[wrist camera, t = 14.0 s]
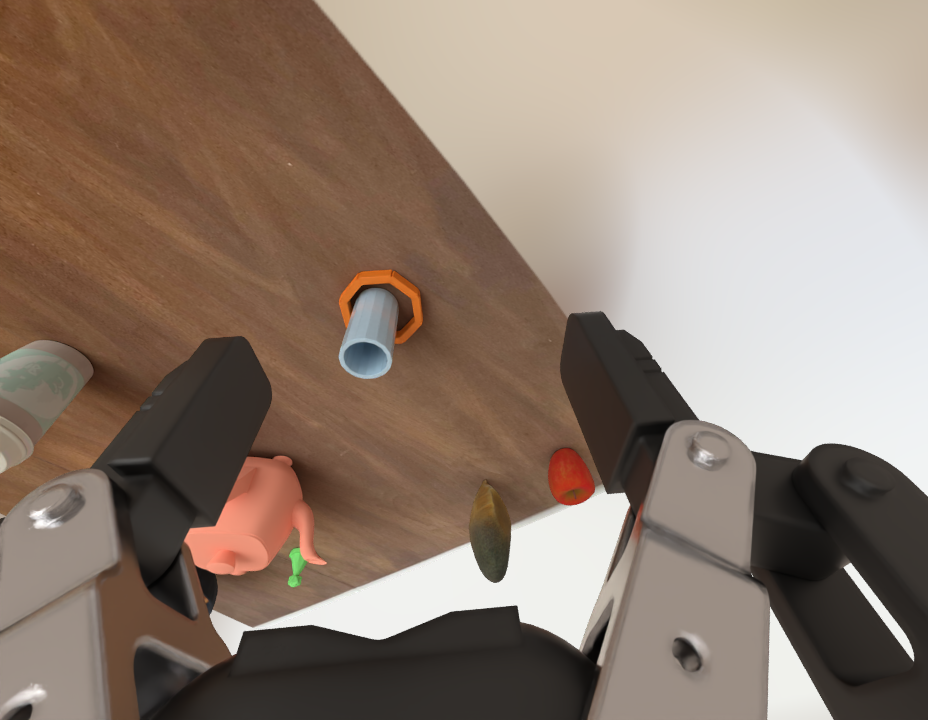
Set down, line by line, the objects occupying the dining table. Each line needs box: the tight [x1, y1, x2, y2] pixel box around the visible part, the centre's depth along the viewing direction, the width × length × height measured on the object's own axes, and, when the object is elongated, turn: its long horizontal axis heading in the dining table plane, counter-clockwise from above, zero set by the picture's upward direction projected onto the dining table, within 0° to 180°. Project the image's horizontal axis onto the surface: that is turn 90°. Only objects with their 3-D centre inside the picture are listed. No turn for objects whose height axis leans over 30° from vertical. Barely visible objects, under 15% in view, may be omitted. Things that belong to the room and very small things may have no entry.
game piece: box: [288, 548, 307, 587], centre depth 68 cm, size 4×4×6 cm
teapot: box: [184, 456, 326, 575], centre depth 49 cm, size 16×17×14 cm
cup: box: [339, 288, 399, 379], centre depth 35 cm, size 4×4×9 cm
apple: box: [548, 448, 595, 505], centre depth 54 cm, size 6×6×8 cm
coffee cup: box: [0, 340, 93, 473], centre depth 35 cm, size 9×8×12 cm
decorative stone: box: [469, 480, 511, 583], centre depth 54 cm, size 10×6×15 cm, turn 176°
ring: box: [339, 270, 423, 344], centre depth 38 cm, size 8×8×1 cm
